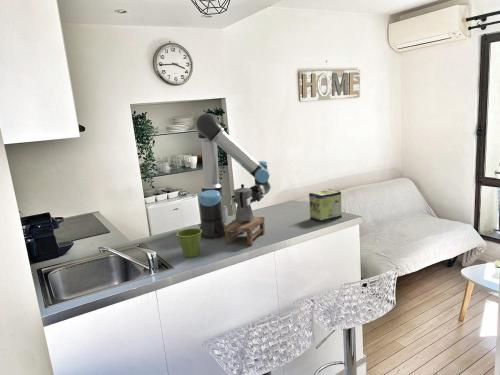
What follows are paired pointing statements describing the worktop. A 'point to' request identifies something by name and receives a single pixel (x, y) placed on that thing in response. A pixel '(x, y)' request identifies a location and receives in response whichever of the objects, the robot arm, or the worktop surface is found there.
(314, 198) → the protein box
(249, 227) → the stool
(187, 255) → the plant pot
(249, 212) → the coffeepot
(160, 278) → the worktop surface
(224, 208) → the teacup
